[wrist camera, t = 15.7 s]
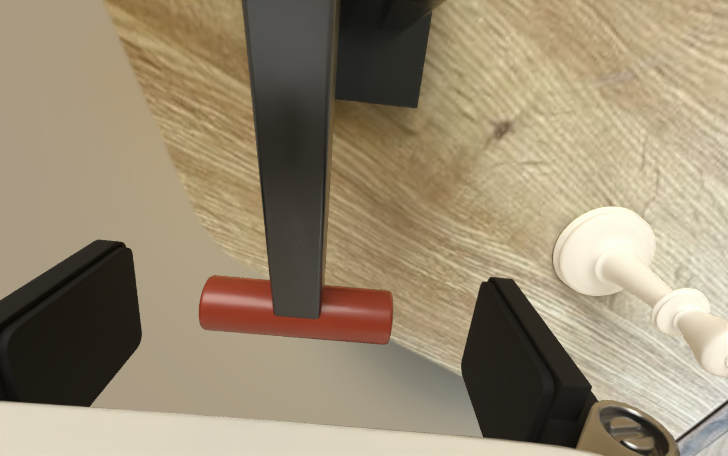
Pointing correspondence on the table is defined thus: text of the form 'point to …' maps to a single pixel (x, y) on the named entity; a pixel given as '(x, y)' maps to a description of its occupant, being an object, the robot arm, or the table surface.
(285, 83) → the lever
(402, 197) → the table surface
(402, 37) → the lever bracket
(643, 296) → the chess piece
